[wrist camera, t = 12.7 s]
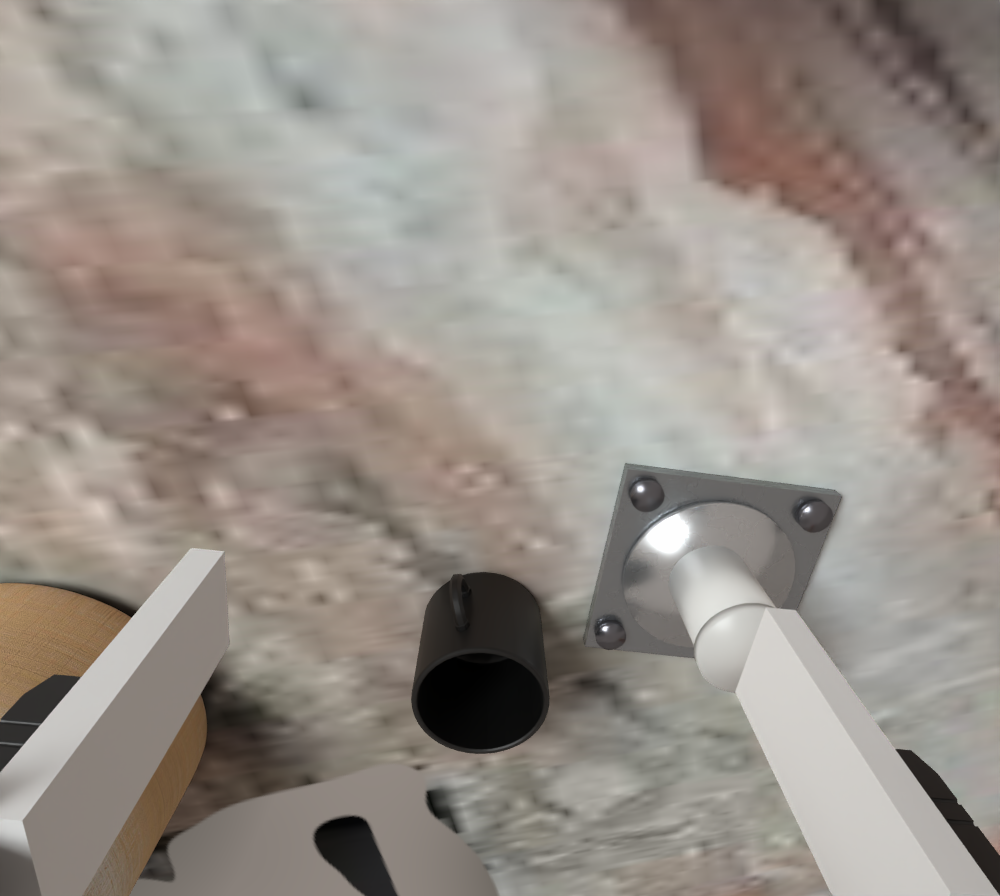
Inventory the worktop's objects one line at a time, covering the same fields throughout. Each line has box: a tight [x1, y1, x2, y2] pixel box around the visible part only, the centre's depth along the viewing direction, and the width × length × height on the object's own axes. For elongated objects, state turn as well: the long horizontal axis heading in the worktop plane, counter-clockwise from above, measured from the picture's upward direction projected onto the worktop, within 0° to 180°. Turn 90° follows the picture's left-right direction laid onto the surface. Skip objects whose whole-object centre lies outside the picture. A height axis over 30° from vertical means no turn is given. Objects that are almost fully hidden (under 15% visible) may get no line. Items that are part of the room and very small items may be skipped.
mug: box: [411, 572, 549, 754], centre depth 45 cm, size 9×12×9 cm
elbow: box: [669, 546, 776, 693], centre depth 43 cm, size 9×7×8 cm
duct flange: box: [583, 463, 842, 658], centre depth 47 cm, size 16×16×2 cm
